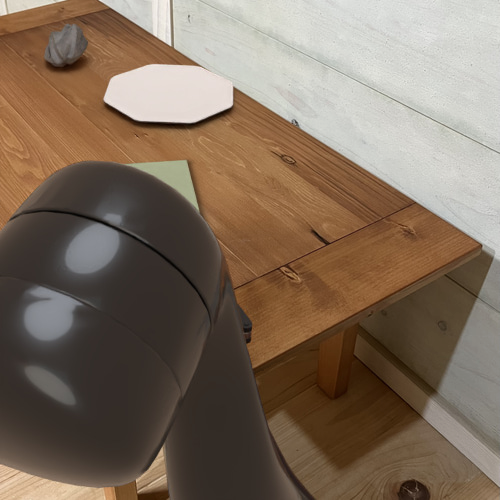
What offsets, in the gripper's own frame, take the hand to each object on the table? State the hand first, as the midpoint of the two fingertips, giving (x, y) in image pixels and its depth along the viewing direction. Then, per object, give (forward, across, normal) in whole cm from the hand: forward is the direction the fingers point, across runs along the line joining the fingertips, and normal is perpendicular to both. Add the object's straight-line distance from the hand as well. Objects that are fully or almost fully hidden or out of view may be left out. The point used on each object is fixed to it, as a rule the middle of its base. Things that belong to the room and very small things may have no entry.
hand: (160, 284), depth 68 cm
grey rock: (+77, -3, +7) cm, 77 cm away
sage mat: (+26, -3, +6) cm, 27 cm away
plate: (+55, -18, +7) cm, 59 cm away
